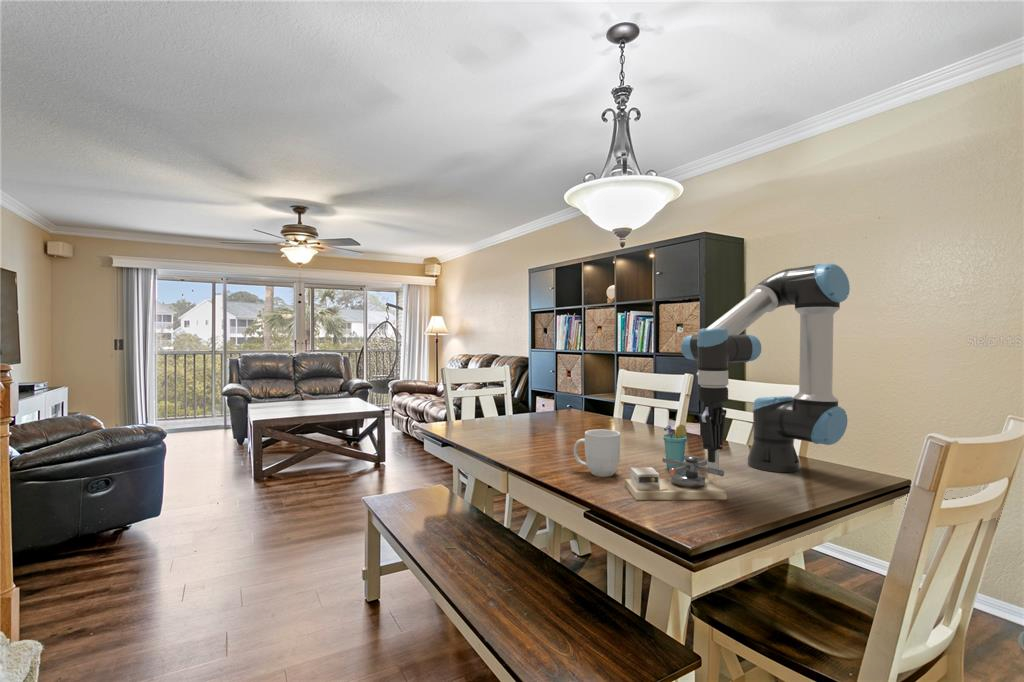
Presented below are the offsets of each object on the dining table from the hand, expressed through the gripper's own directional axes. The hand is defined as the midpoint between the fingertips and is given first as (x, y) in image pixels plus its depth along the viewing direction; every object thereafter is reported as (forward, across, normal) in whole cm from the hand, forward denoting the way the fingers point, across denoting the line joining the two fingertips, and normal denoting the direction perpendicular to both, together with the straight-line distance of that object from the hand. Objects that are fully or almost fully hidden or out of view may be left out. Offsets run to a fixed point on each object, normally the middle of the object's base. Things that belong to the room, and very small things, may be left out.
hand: (713, 473), depth 130 cm
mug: (+7, +3, -35) cm, 36 cm away
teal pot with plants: (+7, -18, -20) cm, 28 cm away
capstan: (+4, 0, -6) cm, 7 cm away
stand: (+6, +4, -9) cm, 12 cm away
